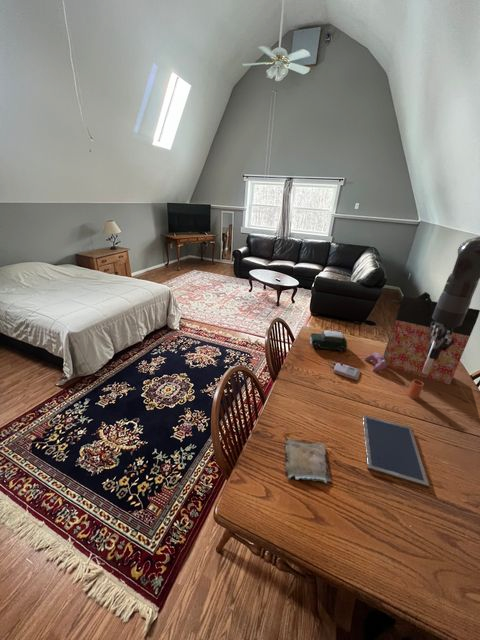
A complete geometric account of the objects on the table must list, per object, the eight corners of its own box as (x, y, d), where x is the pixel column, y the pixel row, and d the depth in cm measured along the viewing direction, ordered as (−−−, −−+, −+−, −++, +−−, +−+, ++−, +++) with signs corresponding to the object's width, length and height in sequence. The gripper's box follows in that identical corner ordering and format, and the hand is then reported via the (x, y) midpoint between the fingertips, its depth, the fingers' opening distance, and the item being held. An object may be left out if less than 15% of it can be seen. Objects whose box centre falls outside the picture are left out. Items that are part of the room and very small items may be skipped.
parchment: (284, 478, 71) (285, 476, 71) (284, 438, 83) (284, 436, 82) (332, 486, 70) (333, 484, 69) (325, 444, 81) (325, 442, 81)
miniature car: (308, 340, 141) (311, 326, 138) (344, 344, 139) (347, 330, 135) (309, 348, 133) (312, 334, 130) (347, 353, 131) (351, 339, 127)
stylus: (426, 372, 91) (439, 338, 85) (428, 375, 89) (441, 341, 84) (420, 371, 91) (433, 338, 86) (422, 374, 90) (435, 340, 84)
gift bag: (446, 370, 121) (479, 298, 106) (450, 387, 110) (487, 309, 95) (376, 351, 134) (396, 283, 119) (372, 364, 123) (395, 292, 108)
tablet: (410, 429, 89) (411, 427, 88) (428, 488, 71) (429, 485, 70) (362, 416, 93) (362, 414, 92) (367, 469, 75) (368, 467, 74)
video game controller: (380, 375, 118) (391, 364, 115) (372, 371, 117) (383, 359, 114) (370, 363, 127) (380, 351, 124) (362, 359, 126) (372, 347, 123)
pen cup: (416, 395, 105) (422, 380, 102) (418, 401, 101) (425, 386, 98) (406, 393, 106) (412, 378, 103) (408, 398, 102) (414, 384, 99)
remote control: (362, 382, 110) (363, 376, 109) (324, 369, 117) (325, 363, 116) (364, 374, 115) (366, 368, 114) (328, 362, 123) (329, 357, 121)
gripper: (477, 318, 73) (452, 370, 80) (457, 301, 85) (437, 348, 92) (445, 314, 75) (424, 365, 82) (430, 298, 87) (413, 344, 94)
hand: (431, 356), depth 87 cm, fingers closed on stylus, 2 cm apart
